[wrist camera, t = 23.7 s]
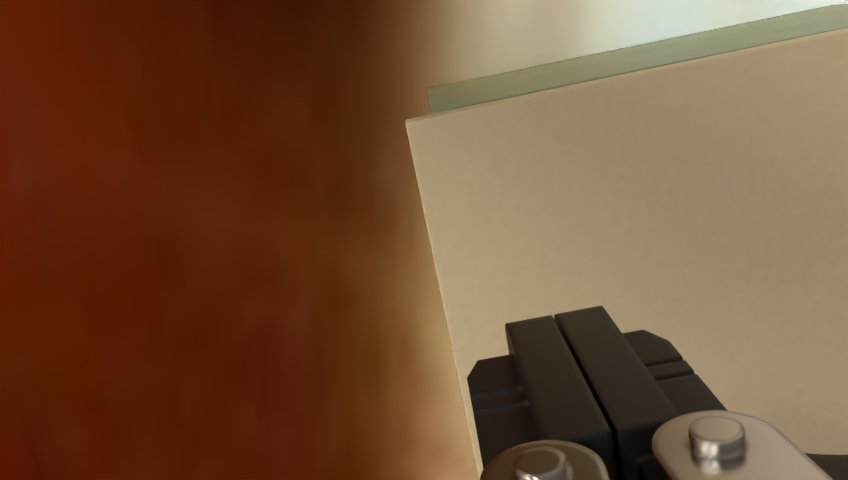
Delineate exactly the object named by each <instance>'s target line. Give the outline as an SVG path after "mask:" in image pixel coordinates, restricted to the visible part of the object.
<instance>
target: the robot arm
mask: <svg viewBox="0 0 848 480" xmlns="http://www.w3.org/2000/svg"><path fill="white" fill-rule="evenodd" d="M505 332H506V338H507V344H508V350H509V355H504V356H498V357H493V358H487V359H482V360H478V361H477V362H476V364H475V366H474V367H473V369H472V370H471V372H470V374H469V375H468V377H467V382H468V387H469V393H470V398H471V404H472V409H473V415H474V420H475V426H476V431H477V437H478V442H479V448H480V453H481V459H482V464H483V471H482V474H481V476H480V480H848V455H826V454H810V453H804V452H803V451H801V450H800V449H799V448H798V447H797V446H796V445H795V444H794V443H793V442H792V441H790V440H789V439H788V438H787V437H786V436H785V435H784V434H783V433H782V432H781V431H779V430H778V429H777V428H776V427H774V426H773V425H772V424H770V423H768V422H766V421H765V420H763V419H760V418H758V417H755V416H752V415H748V414H745V413H740V412H734V411H728V410H727V409H726V408H725V407H724V406H723V405H722V403H721V402H720V401H719V400H718V399H717V397H716V396H715V395H714V394H713V393H712V391H711V390H710V389H709V388H708V387H707V385H706V384H705V383H704V382H703V381H702V379H701V378H700V377H699V376H698V375H697V374H695V373H694V370H693V369H692V368H691V366H690V365H689V364H688V363H687V362H686V360H683V357H682V356H681V354H680V353H679V352H678V351H677V350H676V349H675V347H674V346H673V345H672V344H671V343H670V341H668V340H666V339H664V338H662V337H659V336H657V335H655V334H653V333H650V332H648V331H646V330H644V329H643V330H638V331H632V332H627V333H622V332H621V331H620V330H619V328H618V327H617V325H616V324H615V323H614V321H613V320H612V318H611V317H610V315H609V314H608V313H607V311H606V310H605V308H604V307H603V306H596V307H590V308H585V309H580V310H574V311H569V312H563V313H558V314H555V315H554V318H553V316H552V315H548V316H543V317H537V318H532V319H527V320H521V321H516V322H511V323H505Z"/></svg>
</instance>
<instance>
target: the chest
mask: <svg viewBox="0 0 848 480" xmlns="http://www.w3.org/2000/svg"><path fill="white" fill-rule="evenodd" d="M843 28H848V4H843V5H830V6H826V7H821V8H816V9H811V10H806V11H801V12H796V13H792V14H787V15H782V16H777V17H772V18H767V19H762V20H758V21H753V22H748V23H743V24H738V25H733V26H728V27H724V28H719V29H714V30H709V31H704V32H699V33H694V34H690V35H685V36H680V37H675V38H670V39H665V40H661V41H656V42H651V43H646V44H641V45H636V46H631V47H627V48H622V49H617V50H612V51H607V52H602V53H597V54H593V55H588V56H583V57H578V58H573V59H568V60H563V61H559V62H554V63H549V64H544V65H539V66H534V67H529V68H525V69H520V70H515V71H510V72H505V73H500V74H495V75H491V76H486V77H481V78H476V79H471V80H466V81H461V82H457V83H452V84H447V85H442V86H437V87H432V88H428V89H427V95H428V100H429V105H430V110H431V114H435V113H439V112H444V111H449V110H454V109H459V108H463V107H468V106H473V105H478V104H483V103H488V102H492V101H497V100H502V99H507V98H512V97H516V96H521V95H526V94H531V93H536V92H540V91H545V90H550V89H555V88H560V87H564V86H569V85H574V84H579V83H584V82H588V81H593V80H598V79H603V78H608V77H612V76H617V75H622V74H627V73H632V72H636V71H641V70H646V69H651V68H656V67H660V66H665V65H670V64H675V63H680V62H685V61H689V60H694V59H699V58H704V57H709V56H713V55H718V54H723V53H728V52H733V51H737V50H742V49H747V48H752V47H757V46H761V45H766V44H771V43H776V42H781V41H785V40H790V39H795V38H800V37H805V36H809V35H814V34H819V33H824V32H829V31H833V30H838V29H843Z"/></svg>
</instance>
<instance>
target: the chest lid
mask: <svg viewBox="0 0 848 480" xmlns="http://www.w3.org/2000/svg"><path fill="white" fill-rule="evenodd" d="M405 124H406V129H407V134H408V138H409V143H410V148H411V153H412V158H413V163H414V167H415V172H416V177H417V182H418V187H419V191H420V196H421V201H422V206H423V211H424V216H425V220H426V225H427V230H428V235H429V240H430V244H431V249H432V254H433V259H434V264H435V269H436V273H437V278H438V283H439V288H440V293H441V297H442V302H443V307H444V312H445V317H446V322H447V326H448V331H449V336H450V341H451V346H452V350H453V355H454V360H455V365H456V370H457V375H458V379H459V384H460V389H461V394H462V399H463V403H464V408H465V413H466V418H467V423H468V428H469V432H470V437H471V442H472V447H473V452H474V456H475V461H476V466H477V471H478V476H479V480H480V476H481V474H482V471H483V464H482V459H481V453H480V448H479V442H478V437H477V431H476V426H475V420H474V415H473V409H472V404H471V398H470V393H469V387H468V382H467V377H468V375H469V374H470V372H471V370H472V369H473V367H474V366H475V364H476V362H477V361H478V360H482V359H487V358H493V357H498V356H504V355H509V350H508V344H507V338H506V332H505V323H511V322H516V321H521V320H527V319H532V318H537V317H543V316H548V315H552V316H553V318H554V315H555V314H558V313H563V312H569V311H574V310H580V309H585V308H590V307H596V306H603V307H604V308H605V310H606V311H607V313H608V314H609V315H610V317H611V318H612V320H613V321H614V323H615V324H616V325H617V327H618V328H619V330H620V331H621V332H622V333H627V332H632V331H638V330H643V329H644V330H646V331H648V332H650V333H653V334H655V335H657V336H659V337H662V338H664V339H666V340H668V341H670V343H671V344H672V345H673V346H674V347H675V349H676V350H677V351H678V352H679V353H680V354H681V356H682V357H683V360H686V362H687V363H688V364H689V365H690V366H691V368H692V369H693V370H694V373H695V374H697V375H698V376H699V377H700V378H701V379H702V381H703V382H704V383H705V384H706V385H707V387H708V388H709V389H710V390H711V391H712V393H713V394H714V395H715V396H716V397H717V399H718V400H719V401H720V402H721V403H722V405H723V406H724V407H725V408H726V409H727V410H728V411H734V412H740V413H745V414H748V415H752V416H755V417H758V418H760V419H763V420H765V421H766V422H768V423H770V424H772V425H773V426H774V427H776V428H777V429H778V430H779V431H781V432H782V433H783V434H784V435H785V436H786V437H787V438H788V439H789V440H790V441H792V442H793V443H794V444H795V445H796V446H797V447H798V448H799V449H800V450H801V451H803V452H804V453H810V454H826V455H848V28H843V29H838V30H833V31H829V32H824V33H819V34H814V35H809V36H805V37H800V38H795V39H790V40H785V41H781V42H776V43H771V44H766V45H761V46H757V47H752V48H747V49H742V50H737V51H733V52H728V53H723V54H718V55H713V56H709V57H704V58H699V59H694V60H689V61H685V62H680V63H675V64H670V65H665V66H660V67H656V68H651V69H646V70H641V71H636V72H632V73H627V74H622V75H617V76H612V77H608V78H603V79H598V80H593V81H588V82H584V83H579V84H574V85H569V86H564V87H560V88H555V89H550V90H545V91H540V92H536V93H531V94H526V95H521V96H516V97H512V98H507V99H502V100H497V101H492V102H488V103H483V104H478V105H473V106H468V107H463V108H459V109H454V110H449V111H444V112H439V113H435V114H430V115H425V116H420V117H415V118H411V119H407V120H405Z"/></svg>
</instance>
